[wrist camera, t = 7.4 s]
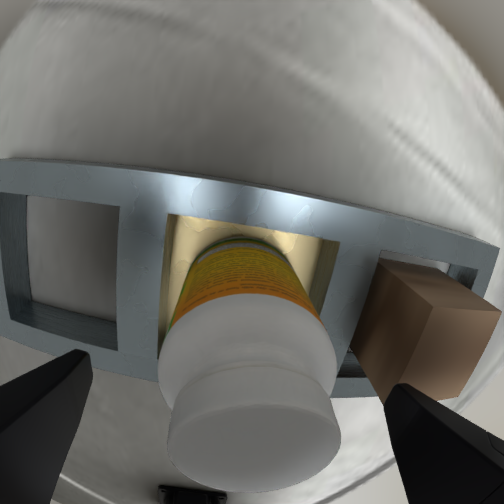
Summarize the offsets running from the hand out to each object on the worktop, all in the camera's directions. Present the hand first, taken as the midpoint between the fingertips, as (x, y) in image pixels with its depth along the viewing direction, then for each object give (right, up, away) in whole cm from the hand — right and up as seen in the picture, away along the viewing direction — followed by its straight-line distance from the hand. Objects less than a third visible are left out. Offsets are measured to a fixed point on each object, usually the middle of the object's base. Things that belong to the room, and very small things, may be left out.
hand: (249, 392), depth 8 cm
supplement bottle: (0, +2, +7) cm, 8 cm away
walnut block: (+8, +1, +9) cm, 12 cm away
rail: (-1, +2, +8) cm, 8 cm away
